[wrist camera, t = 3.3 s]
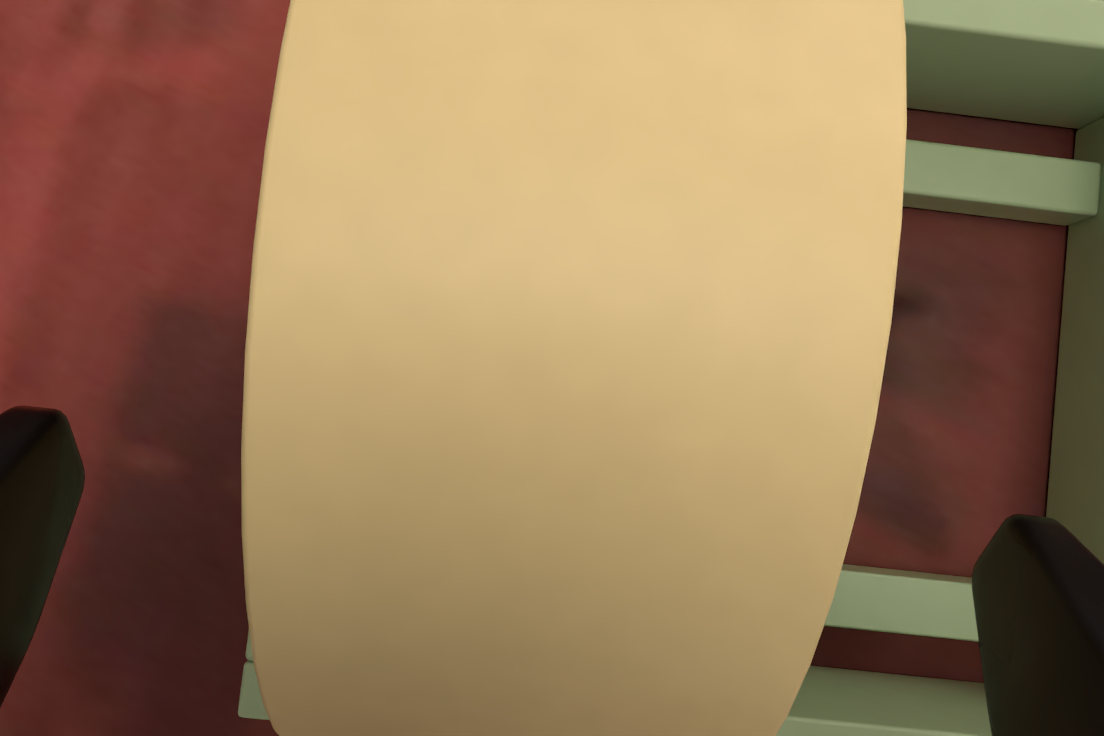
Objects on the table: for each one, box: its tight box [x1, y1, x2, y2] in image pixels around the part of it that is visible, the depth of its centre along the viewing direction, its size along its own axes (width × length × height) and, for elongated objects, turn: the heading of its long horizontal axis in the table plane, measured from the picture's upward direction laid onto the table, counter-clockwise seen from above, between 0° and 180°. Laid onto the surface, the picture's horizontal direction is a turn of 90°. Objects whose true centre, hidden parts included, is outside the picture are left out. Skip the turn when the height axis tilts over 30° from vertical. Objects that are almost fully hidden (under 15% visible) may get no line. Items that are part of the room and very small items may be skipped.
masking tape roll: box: [241, 0, 907, 736], centre depth 12 cm, size 11×5×11 cm, turn 173°
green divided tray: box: [238, 0, 1104, 736], centre depth 16 cm, size 12×14×4 cm
